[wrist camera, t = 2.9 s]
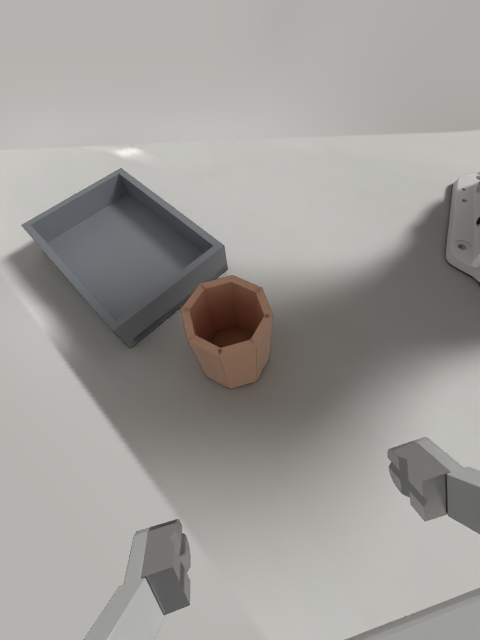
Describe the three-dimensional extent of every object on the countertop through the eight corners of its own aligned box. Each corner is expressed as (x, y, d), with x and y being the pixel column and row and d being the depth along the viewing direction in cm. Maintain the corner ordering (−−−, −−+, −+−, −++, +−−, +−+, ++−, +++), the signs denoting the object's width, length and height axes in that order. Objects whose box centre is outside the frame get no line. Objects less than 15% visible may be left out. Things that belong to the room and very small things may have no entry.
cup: (197, 335, 30) (176, 289, 22) (255, 319, 30) (255, 269, 23) (210, 394, 27) (192, 364, 19) (275, 375, 27) (282, 339, 20)
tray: (43, 248, 37) (21, 225, 33) (132, 194, 41) (120, 168, 38) (130, 348, 29) (112, 331, 26) (227, 269, 34) (224, 245, 30)
